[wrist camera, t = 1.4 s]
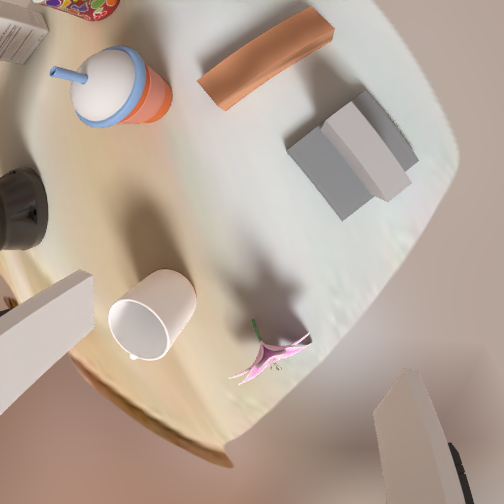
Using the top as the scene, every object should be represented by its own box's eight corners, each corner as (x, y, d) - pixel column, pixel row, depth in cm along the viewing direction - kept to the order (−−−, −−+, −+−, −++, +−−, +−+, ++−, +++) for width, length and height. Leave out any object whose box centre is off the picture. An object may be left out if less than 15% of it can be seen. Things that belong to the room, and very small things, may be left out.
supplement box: (17, 45, 31) (-33, 36, 17) (42, 12, 28) (-8, -3, 14) (23, 66, 32) (-32, 58, 18) (50, 31, 30) (-6, 15, 15)
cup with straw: (152, 147, 34) (49, 145, 17) (112, 110, 33) (12, 96, 16) (197, 91, 31) (113, 42, 14) (152, 58, 30) (63, 11, 13)
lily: (231, 360, 43) (247, 412, 35) (201, 314, 36) (215, 377, 28) (303, 331, 43) (328, 380, 36) (289, 278, 36) (322, 334, 29)
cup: (207, 287, 38) (179, 325, 29) (177, 345, 42) (150, 387, 33) (156, 256, 38) (115, 285, 29) (133, 318, 42) (98, 353, 33)
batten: (207, 89, 31) (196, 80, 27) (310, 21, 26) (311, 6, 22) (226, 111, 31) (217, 105, 28) (331, 42, 27) (334, 28, 23)
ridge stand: (286, 151, 32) (282, 146, 24) (363, 92, 28) (382, 72, 20) (340, 218, 33) (353, 236, 25) (414, 160, 29) (446, 160, 21)
